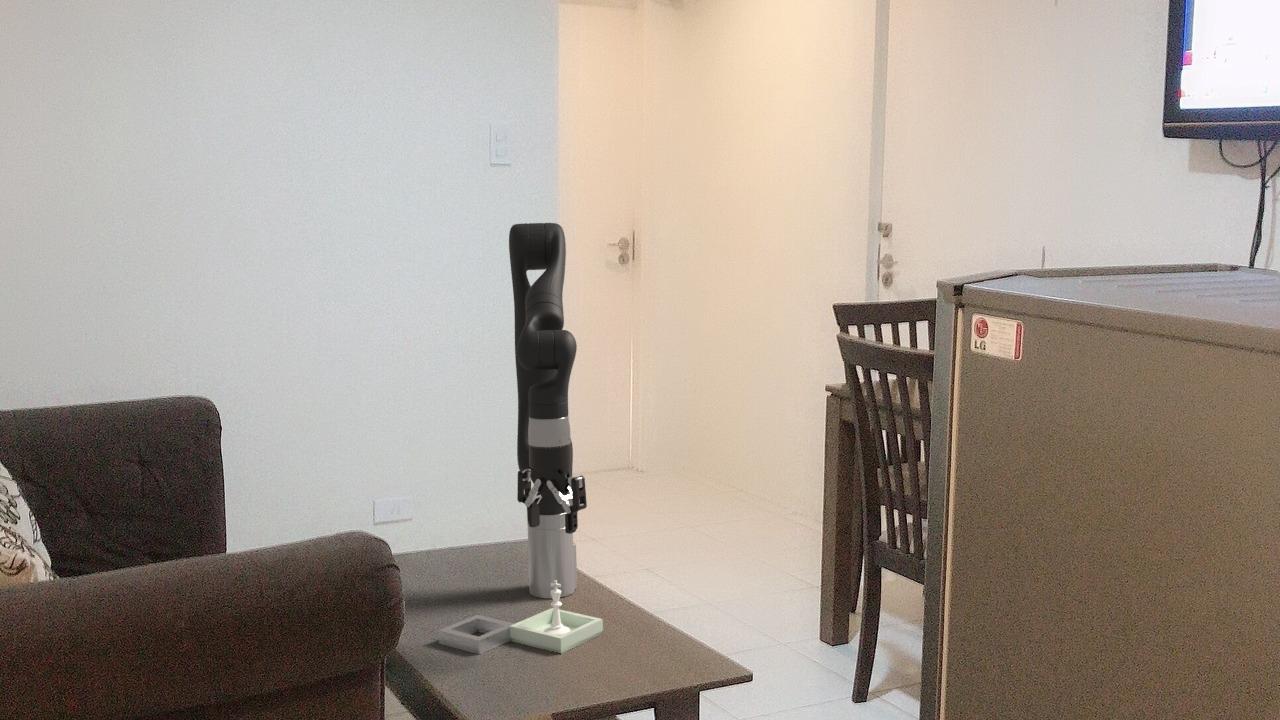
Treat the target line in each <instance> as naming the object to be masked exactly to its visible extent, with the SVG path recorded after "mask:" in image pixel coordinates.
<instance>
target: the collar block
mask: <svg viewBox="0 0 1280 720" xmlns="http://www.w3.org/2000/svg"><path fill="white" fill-rule="evenodd" d="M513 624H514V622H513V623H512V622H508V621H504V620H500V619H496V618H493V617H489V616H488V617H487V616H484V615H480V614H476V615H473V616H471V617H468V618H466V619H464V620H461V621H458V622H456V623H453V624H450V625H448V626H445V627H443V628H441V629H438V644H440V645H442V646H446V647H451V648H453V649H458V650H462V651H465V652H469V653H472V654H476V655H481V654H484V653H486V652H489V651H490V650H491V651H492V650H493V649H495V648H497V647H499V646H502V645H504V644H507V643H509V642H511V641H510V626H511V625H513ZM477 632H479V633H483V634H482V635H479V636H477V635H474V634H475V633H477Z"/></svg>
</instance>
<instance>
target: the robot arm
mask: <svg viewBox="0 0 1280 720" xmlns="http://www.w3.org/2000/svg"><path fill="white" fill-rule="evenodd" d="M508 235H509V236H508V252H509V253H508V254H509V262H510V264H509V265H510V271H511V283H512V293H513V305H514V306H513V307H514V310H513V311H514V313H513V314H514V354H515V356H514V357H515V370H516V384H517V385H516V387H517V445H516V451H517V452H516V456H517V465H518V471H517V493H516V494H517V498H516V500H517V502H518V503H519V504H520V503H522V504H523V505H525V507H526V516H527V517H526V519H527V520H526V521H527V548H528V552H527V553H528V581H529V585H528V587H529V588H528V589H529V594H530V595H531V596H532V597H536V598H540V599H552V596H551V593H550V591H551V590H554V587H551V584H554V581H555V580H557V584H560V587H557V589H559V590H561V595H560V598H564V597H568V596H571V595H573V594H574V593H575V590H576V589H578V571H577V569H578V568H577V564H578V563H577V544H576V543H575V542H574V533H575V532H576V531H577V530H578V526H579V524H578V521H579V520H578V512H579V511H581V510H582V511H583V510H585V509H587V507H588V503H587V493H586V492H587V490H586V480H585V476H584V475H579V476H573V466H574V465H573V463H574V461H573V460H574V458H573V457H574V450H573V449H574V448H573V442H572V438H571V424H570V420H569V419H570V416H569V384H570V381H571V380H570V379H571V375H572V369H573V366H574V364H575V359H576V354H577V341H576V338H575V336H574V335H573V334H572V332H570V331H569V330H566V329H563V328H564V326H565V317H564V314H565V313H564V305H563V290H564V283H565V273H566V258H567V255H566V254H567V249H566V248H567V247H566V245H567V244H566V237H565V231H564V228H563V227H562V226H561V225H560V224H558V223H556V222H535V223H534V222H532V223H530V222H528V223H526V222H524V223H514V224H512V225H511V227H510V229H509V233H508ZM542 270H544V271H543V273H542V274H541V275H540V276H539V277H538V278H537V279H536V280H535V281H534V282H533V284H532V285H531V283H530V281H529V278H528V275H527V272H528V271H542ZM532 484H533V486H532Z"/></svg>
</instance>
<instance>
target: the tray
mask: <svg viewBox="0 0 1280 720" xmlns="http://www.w3.org/2000/svg"><path fill="white" fill-rule="evenodd" d="M553 609H554V607H551V608H549V609H546V610H544V611H541V612H539V613H537V614H534V615H533V616H530V617H528V618H526V619H523V620H521V621H518V622H515V623H513V625H511V626H510V641H509V642H512V643H516V644H519V645H520V644H521V645H524V644H525V645H524V646H529V647H533V648H536V649H541V650H544V649H545V650H544V651H548V650H549V652H552V651H554V652H553V653H556V652H558V653H557V654H559V653H561V654H560V655H563V654H564V653H566V652H568V651H571V650H572V648H573V649H574V648H577V647H579V646H580V645H583V644H585V643H588V642H589V641H592V640H593V639H595V638H597V637H599V636H601V635H604V620H603V618H599V617H596V616H590V615H586V614H583V613H577V612H573V611H567V610H563V609H561V608H559V612H560V619H561V624H563V626H566V627H568V628H569V629H570V631H569V632H567V633H565V634H563V635H561V636H559V635H555V634H551V633H547V632H544V630H545V629H546V628H547V627H550V625H551V624H552V621H553ZM576 646H577V647H576ZM570 649H571V650H570Z"/></svg>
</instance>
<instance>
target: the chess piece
mask: <svg viewBox="0 0 1280 720" xmlns="http://www.w3.org/2000/svg"><path fill="white" fill-rule="evenodd" d="M551 587H554V590H551V591H550V593H551V596H552V598H551V599H552V602H551V603H550V606H551V607H552V608H554V609H553V621H552V624H551V625H550V627H547V628H546V629H545V630H544V632H547V633H551V634H555V635H559V636H561V635H563V634H565V633H567V632H569V631H570V629H569V628H568V627H566V626H563V624H561V619H560V612H559V609H560V607H561V606H562V605H563V603H562V601H560V598H561V597H560V595H561V590H559V589H557V587H560V584H557V580H555V581H554V584H551Z"/></svg>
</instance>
